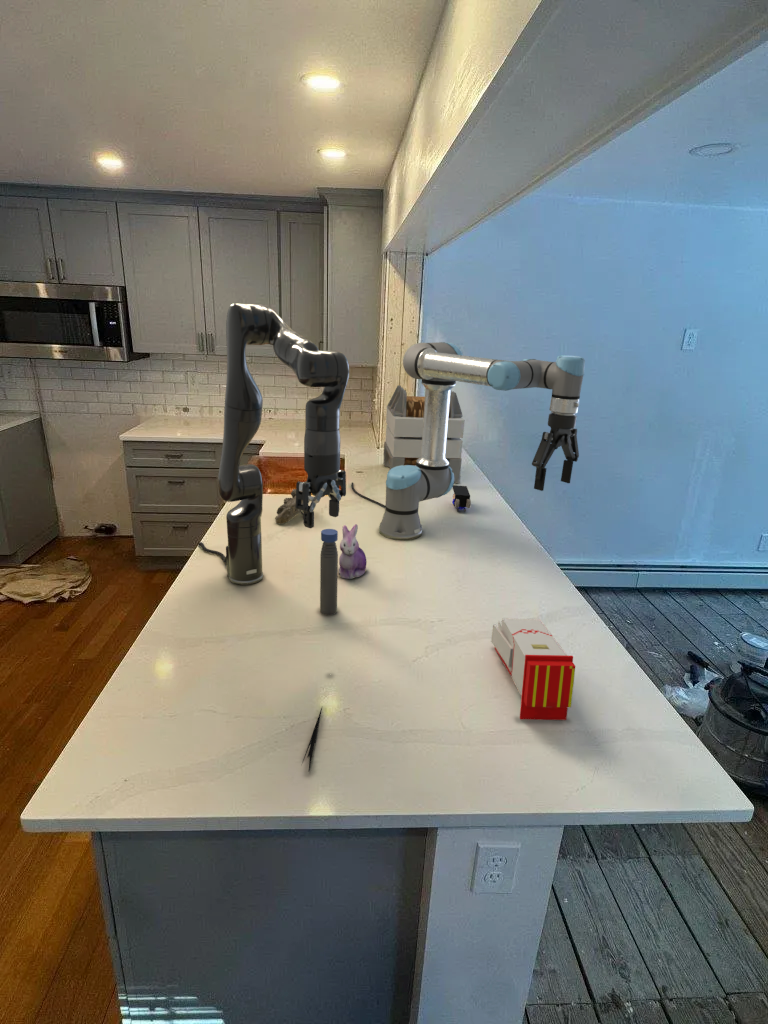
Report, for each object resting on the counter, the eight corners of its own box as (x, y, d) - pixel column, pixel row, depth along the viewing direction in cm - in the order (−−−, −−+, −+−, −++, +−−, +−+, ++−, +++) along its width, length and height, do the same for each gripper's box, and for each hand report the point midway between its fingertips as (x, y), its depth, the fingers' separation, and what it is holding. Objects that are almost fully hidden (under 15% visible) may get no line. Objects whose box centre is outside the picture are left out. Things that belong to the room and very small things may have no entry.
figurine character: (470, 516, 223) (465, 500, 237) (473, 499, 220) (467, 484, 233) (453, 516, 223) (449, 500, 236) (455, 498, 220) (451, 483, 233)
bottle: (339, 613, 147) (340, 535, 139) (323, 616, 145) (324, 537, 137) (333, 605, 150) (334, 529, 143) (317, 608, 148) (318, 531, 141)
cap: (340, 541, 140) (340, 533, 139) (324, 543, 138) (324, 535, 137) (333, 535, 143) (334, 527, 143) (318, 537, 141) (318, 529, 141)
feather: (331, 679, 122) (336, 673, 122) (307, 777, 96) (313, 769, 95) (324, 675, 122) (329, 669, 121) (298, 772, 95) (304, 764, 95)
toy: (537, 603, 136) (584, 662, 106) (532, 655, 138) (577, 726, 109) (487, 602, 135) (520, 661, 106) (483, 654, 138) (514, 725, 109)
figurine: (344, 582, 162) (345, 534, 157) (330, 568, 171) (331, 521, 166) (373, 577, 167) (375, 529, 162) (359, 563, 175) (360, 517, 170)
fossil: (280, 494, 222) (309, 474, 217) (296, 512, 224) (325, 493, 219) (264, 519, 202) (296, 497, 197) (282, 539, 205) (313, 518, 200)
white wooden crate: (382, 463, 289) (386, 382, 275) (445, 464, 293) (451, 384, 279) (390, 482, 257) (394, 392, 243) (460, 483, 261) (468, 394, 247)
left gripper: (329, 440, 126) (328, 509, 132) (285, 452, 115) (286, 526, 120) (356, 446, 122) (354, 516, 128) (314, 458, 111) (313, 535, 117)
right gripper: (548, 419, 148) (537, 496, 155) (598, 411, 163) (586, 482, 171) (525, 414, 153) (515, 489, 160) (575, 407, 169) (564, 476, 176)
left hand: (321, 521), depth 124 cm, fingers open, 8 cm apart
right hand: (552, 485), depth 166 cm, fingers open, 13 cm apart
